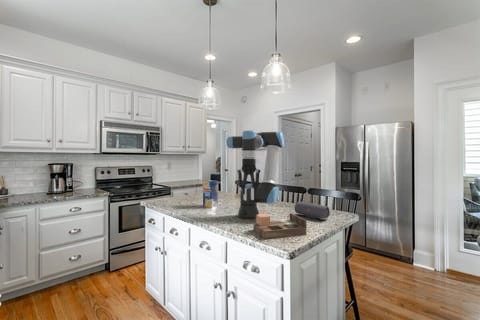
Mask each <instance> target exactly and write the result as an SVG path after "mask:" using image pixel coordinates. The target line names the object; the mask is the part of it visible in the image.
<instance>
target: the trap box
mask: <svg viewBox="0 0 480 320" xmlns="http://www.w3.org/2000/svg"><path fill="white" fill-rule="evenodd" d="M252 225H253V226H252V227H253V231H254V232H255V233H257V235H259V236H260V237H261V238H263V239H264V240H269V239H278V238H288V237H296V236H304V235H307V219H305V218H304V217H303V218H302V217H300V216H298V215H296V214H294V213H292V212H290V213H289V219H282V220H281V219H280V220H270V225H267V226H260V225H258V224H257V223H256V222H253V224H252Z"/></svg>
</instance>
